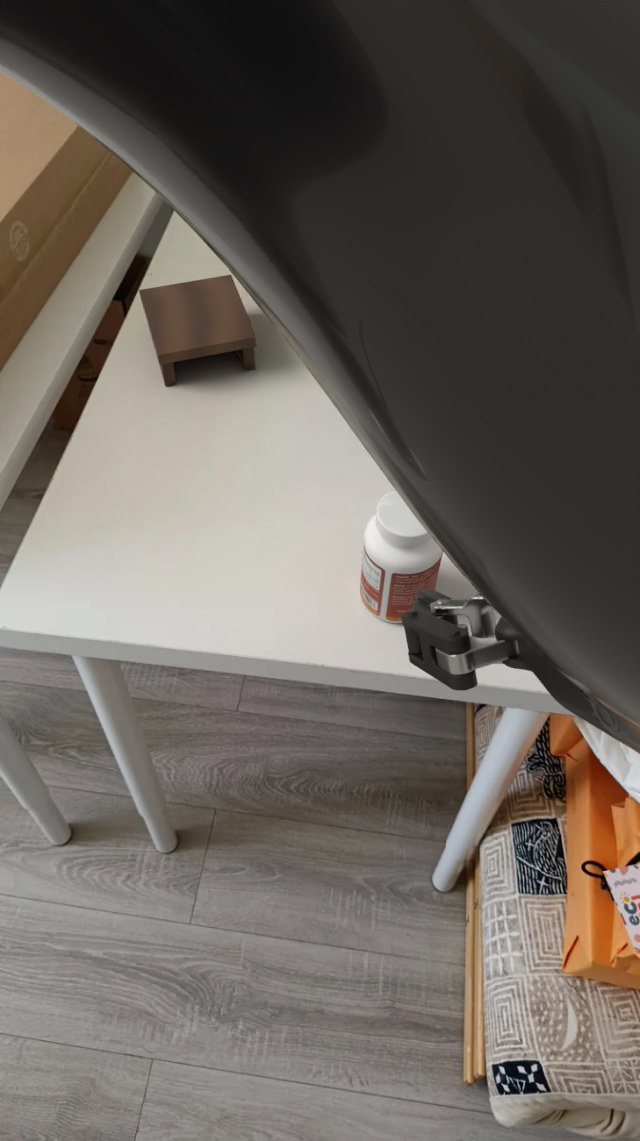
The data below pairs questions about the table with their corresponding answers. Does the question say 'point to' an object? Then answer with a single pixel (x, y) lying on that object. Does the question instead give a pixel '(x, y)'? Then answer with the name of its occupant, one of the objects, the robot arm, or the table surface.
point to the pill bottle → (396, 560)
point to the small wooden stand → (198, 322)
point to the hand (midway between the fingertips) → (493, 588)
